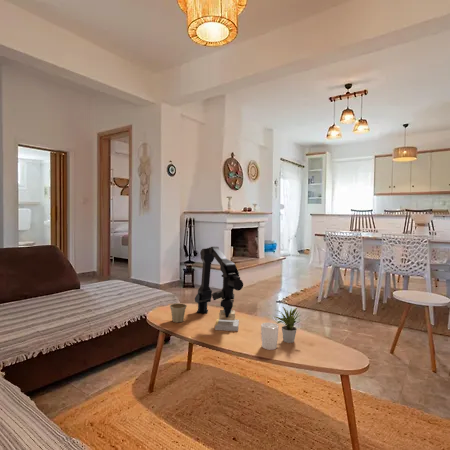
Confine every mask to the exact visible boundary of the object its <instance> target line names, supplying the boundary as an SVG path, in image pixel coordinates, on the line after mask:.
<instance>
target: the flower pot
mask: <svg viewBox="0 0 450 450" xmlns="http://www.w3.org/2000/svg"><path fill="white" fill-rule="evenodd" d="M187 306H188V305H187V304H185V303H181V302H180V303H173V304H169V308H170V311H171V313H170V314H171V319H172V322H173V323H176V324H177V323H182V322H184V319H185V312H186V309H187Z"/></svg>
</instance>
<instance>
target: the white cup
mask: <svg viewBox="0 0 450 450" xmlns="http://www.w3.org/2000/svg"><path fill="white" fill-rule="evenodd" d="M260 331H261V333H260V334H261V338H260V339H261V348H263V349H265V350H267V351H269V350H270V351H273V350H276V349H277V348H278V340H279V339H278V338H279V336H278V335H279V324H278V323H275V322H262V323H261V325H260Z"/></svg>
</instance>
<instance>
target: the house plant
mask: <svg viewBox="0 0 450 450" xmlns="http://www.w3.org/2000/svg"><path fill="white" fill-rule="evenodd" d="M282 309H283V311H284V313H283V312H282V311H280V310H277V309H275V311H276V312H278V313H280V314H281V316H282V317H279V316H274V318H275V319H277V321H276V324H279V323H282V324H283V326H281V331H282V332H281V334H282V339H283V342H284V343H288V344H292V343H295V339H296V335H297V331H298V330H297V329H298V328H297V326H295V324H297V323H299V321H296V320H297V319H298V317H300V316H301V314H300V315H299V313H300V312H299V310H297V309H298V307H296V308H294V309H293V310H292V308H291V307H290V310H287V309H286V308H285V307H284V306H282Z"/></svg>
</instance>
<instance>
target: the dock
mask: <svg viewBox="0 0 450 450" xmlns="http://www.w3.org/2000/svg"><path fill="white" fill-rule="evenodd" d="M239 325H240V319H236V318H235V320H219V318H216V322H215V323H214V330H215V331H225V332H226V331H227V332H228V331H229V332H238V331H239Z"/></svg>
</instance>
